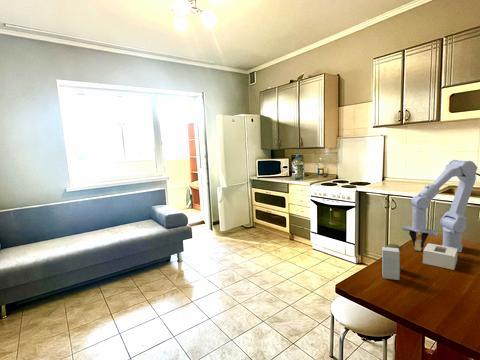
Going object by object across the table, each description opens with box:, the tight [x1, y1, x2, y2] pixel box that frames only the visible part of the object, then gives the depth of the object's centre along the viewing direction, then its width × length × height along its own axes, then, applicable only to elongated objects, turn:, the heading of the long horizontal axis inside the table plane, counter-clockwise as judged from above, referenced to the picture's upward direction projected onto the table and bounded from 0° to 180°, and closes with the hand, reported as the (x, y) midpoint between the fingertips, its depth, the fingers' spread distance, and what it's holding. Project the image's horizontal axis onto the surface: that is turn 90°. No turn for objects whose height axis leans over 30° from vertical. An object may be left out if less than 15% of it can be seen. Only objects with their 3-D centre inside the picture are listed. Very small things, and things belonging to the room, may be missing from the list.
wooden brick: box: [414, 238, 423, 252], centre depth 133 cm, size 4×2×4 cm, turn 136°
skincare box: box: [381, 246, 401, 281], centre depth 109 cm, size 6×4×12 cm
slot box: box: [422, 242, 458, 271], centre depth 119 cm, size 11×11×6 cm
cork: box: [386, 243, 402, 272], centre depth 115 cm, size 6×6×11 cm
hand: (418, 246), depth 133 cm, fingers closed on wooden brick, 2 cm apart
